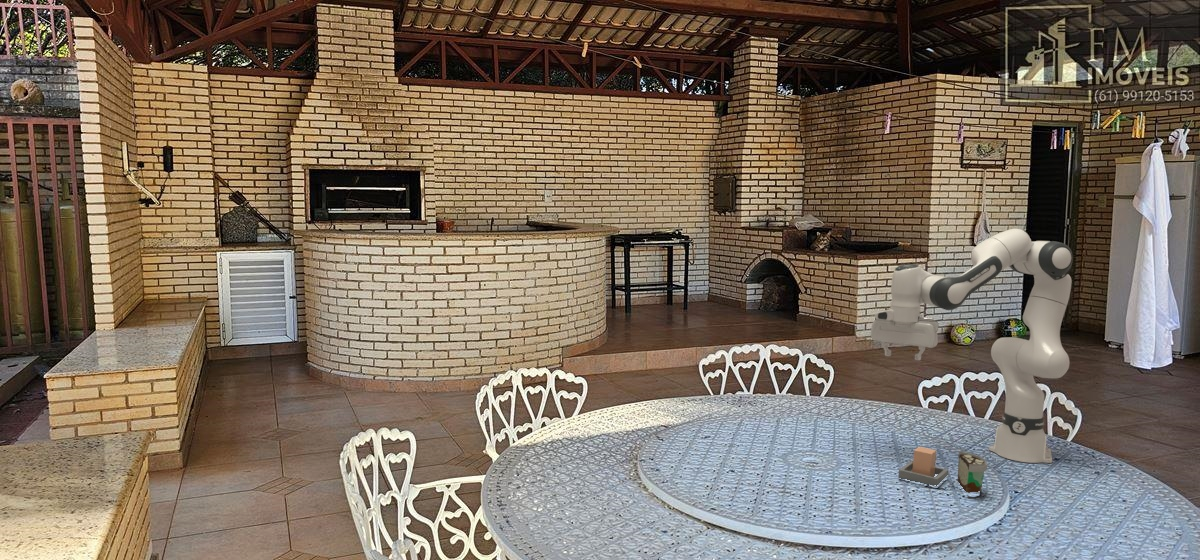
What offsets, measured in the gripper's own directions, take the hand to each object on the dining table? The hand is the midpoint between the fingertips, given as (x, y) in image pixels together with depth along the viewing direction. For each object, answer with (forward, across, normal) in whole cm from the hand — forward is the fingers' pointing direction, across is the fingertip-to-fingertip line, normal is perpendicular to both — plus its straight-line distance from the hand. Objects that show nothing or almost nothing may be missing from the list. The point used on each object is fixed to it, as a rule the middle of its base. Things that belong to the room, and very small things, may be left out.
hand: (902, 357), depth 246 cm
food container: (+34, -27, +15) cm, 45 cm away
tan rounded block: (+32, -13, +15) cm, 37 cm away
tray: (+33, -13, +15) cm, 38 cm away
